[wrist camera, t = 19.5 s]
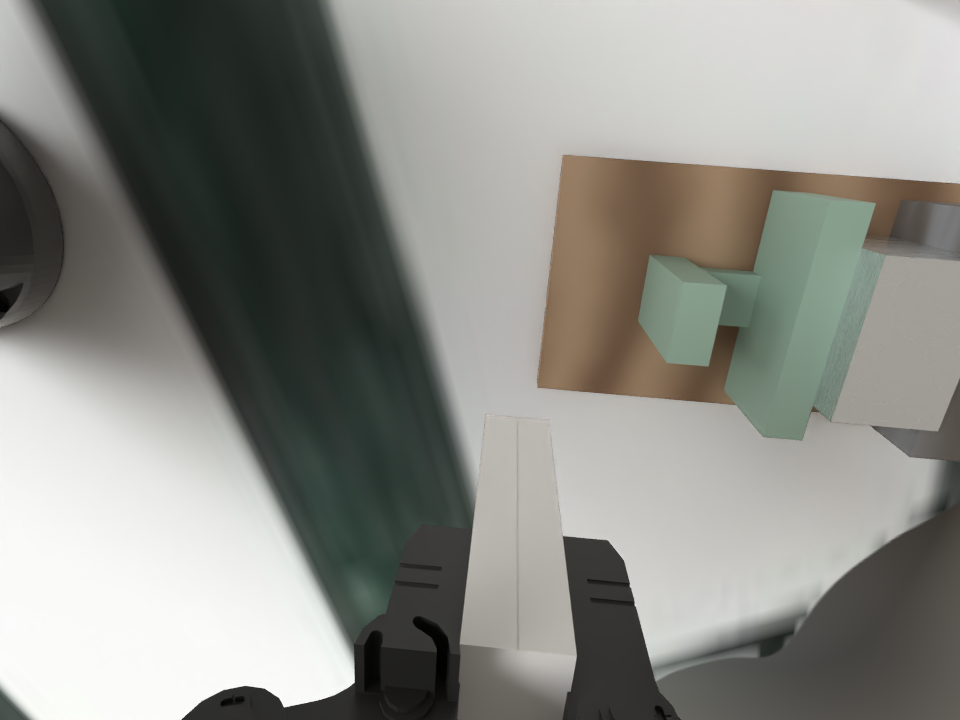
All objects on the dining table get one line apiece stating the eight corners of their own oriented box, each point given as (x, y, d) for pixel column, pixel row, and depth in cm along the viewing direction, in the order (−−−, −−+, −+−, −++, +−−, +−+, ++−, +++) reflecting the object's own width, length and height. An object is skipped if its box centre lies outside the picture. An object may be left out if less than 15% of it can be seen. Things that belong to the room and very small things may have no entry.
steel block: (762, 362, 34) (831, 421, 27) (798, 229, 31) (885, 255, 24) (845, 369, 34) (938, 431, 27) (889, 236, 31) (1006, 264, 24)
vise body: (537, 381, 37) (542, 441, 29) (562, 155, 32) (576, 157, 24) (878, 411, 36) (973, 480, 29) (960, 183, 31) (1101, 195, 24)
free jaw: (627, 382, 35) (652, 435, 29) (662, 182, 31) (701, 191, 24) (756, 393, 35) (811, 450, 28) (810, 193, 31) (889, 205, 24)
